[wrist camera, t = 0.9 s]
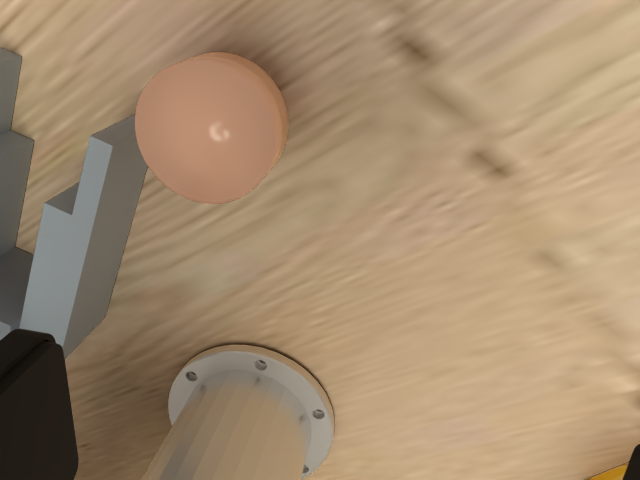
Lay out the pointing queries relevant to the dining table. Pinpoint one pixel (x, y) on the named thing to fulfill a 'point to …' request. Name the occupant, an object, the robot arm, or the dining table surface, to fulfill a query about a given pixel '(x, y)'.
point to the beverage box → (611, 474)
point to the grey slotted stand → (64, 228)
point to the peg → (211, 126)
